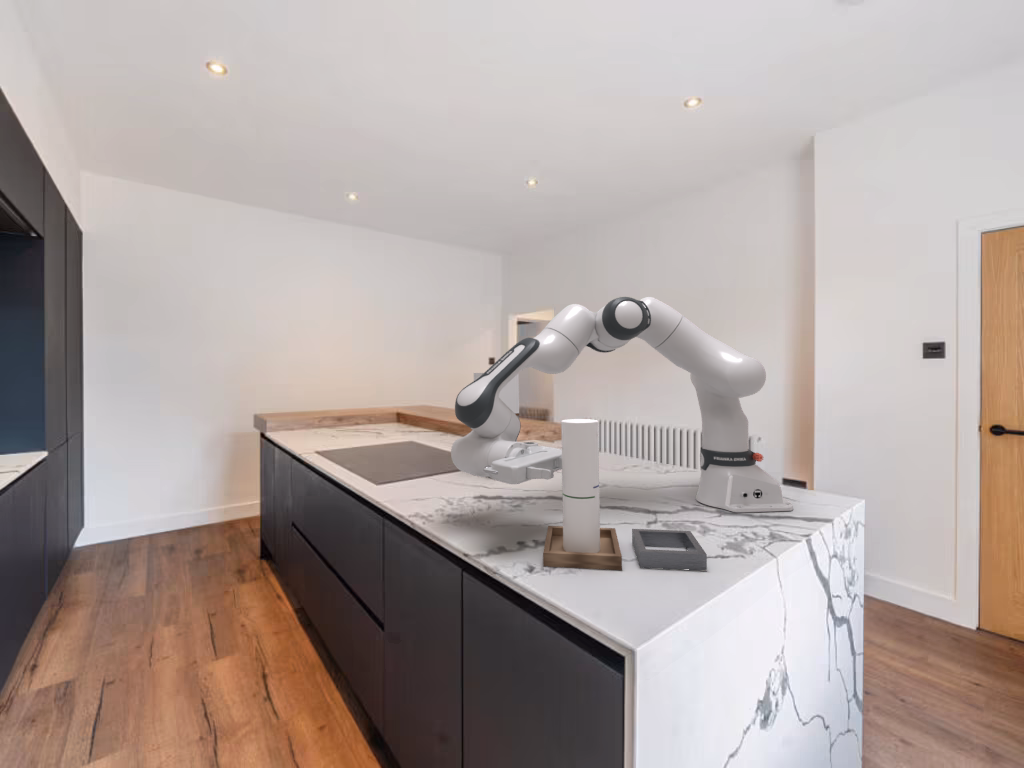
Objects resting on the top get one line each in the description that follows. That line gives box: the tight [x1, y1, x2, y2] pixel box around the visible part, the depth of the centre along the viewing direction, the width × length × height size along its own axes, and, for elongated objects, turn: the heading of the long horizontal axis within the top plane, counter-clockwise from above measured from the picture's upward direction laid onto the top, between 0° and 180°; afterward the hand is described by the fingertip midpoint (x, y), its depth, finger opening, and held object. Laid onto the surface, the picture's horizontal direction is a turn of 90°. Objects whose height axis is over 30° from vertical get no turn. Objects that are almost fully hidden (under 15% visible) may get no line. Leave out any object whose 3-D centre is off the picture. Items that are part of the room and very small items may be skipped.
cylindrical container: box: [560, 418, 601, 553], centre depth 86 cm, size 7×7×25 cm
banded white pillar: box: [473, 372, 520, 480], centre depth 151 cm, size 11×11×35 cm
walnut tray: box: [542, 525, 623, 571], centre depth 87 cm, size 14×14×2 cm
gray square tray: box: [631, 528, 708, 571], centre depth 84 cm, size 11×11×3 cm
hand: (564, 470), depth 88 cm, fingers open, 8 cm apart
